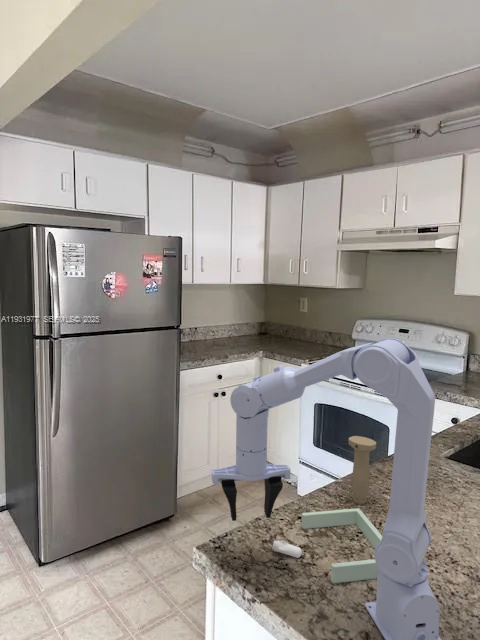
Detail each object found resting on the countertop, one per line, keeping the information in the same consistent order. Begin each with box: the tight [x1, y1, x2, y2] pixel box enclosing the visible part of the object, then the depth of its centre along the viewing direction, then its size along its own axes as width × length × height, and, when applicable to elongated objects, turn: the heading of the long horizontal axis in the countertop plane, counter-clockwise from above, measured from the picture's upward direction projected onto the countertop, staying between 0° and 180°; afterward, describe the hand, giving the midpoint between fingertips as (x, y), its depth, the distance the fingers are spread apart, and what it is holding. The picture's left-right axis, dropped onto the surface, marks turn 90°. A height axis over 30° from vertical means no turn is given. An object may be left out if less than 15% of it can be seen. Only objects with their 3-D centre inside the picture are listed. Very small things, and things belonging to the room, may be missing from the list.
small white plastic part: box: [271, 539, 305, 559], centre depth 87 cm, size 4×6×3 cm, turn 53°
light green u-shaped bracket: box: [300, 507, 383, 584], centre depth 89 cm, size 18×13×3 cm
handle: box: [348, 435, 377, 505], centre depth 107 cm, size 5×6×15 cm
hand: (250, 516), depth 85 cm, fingers open, 6 cm apart
